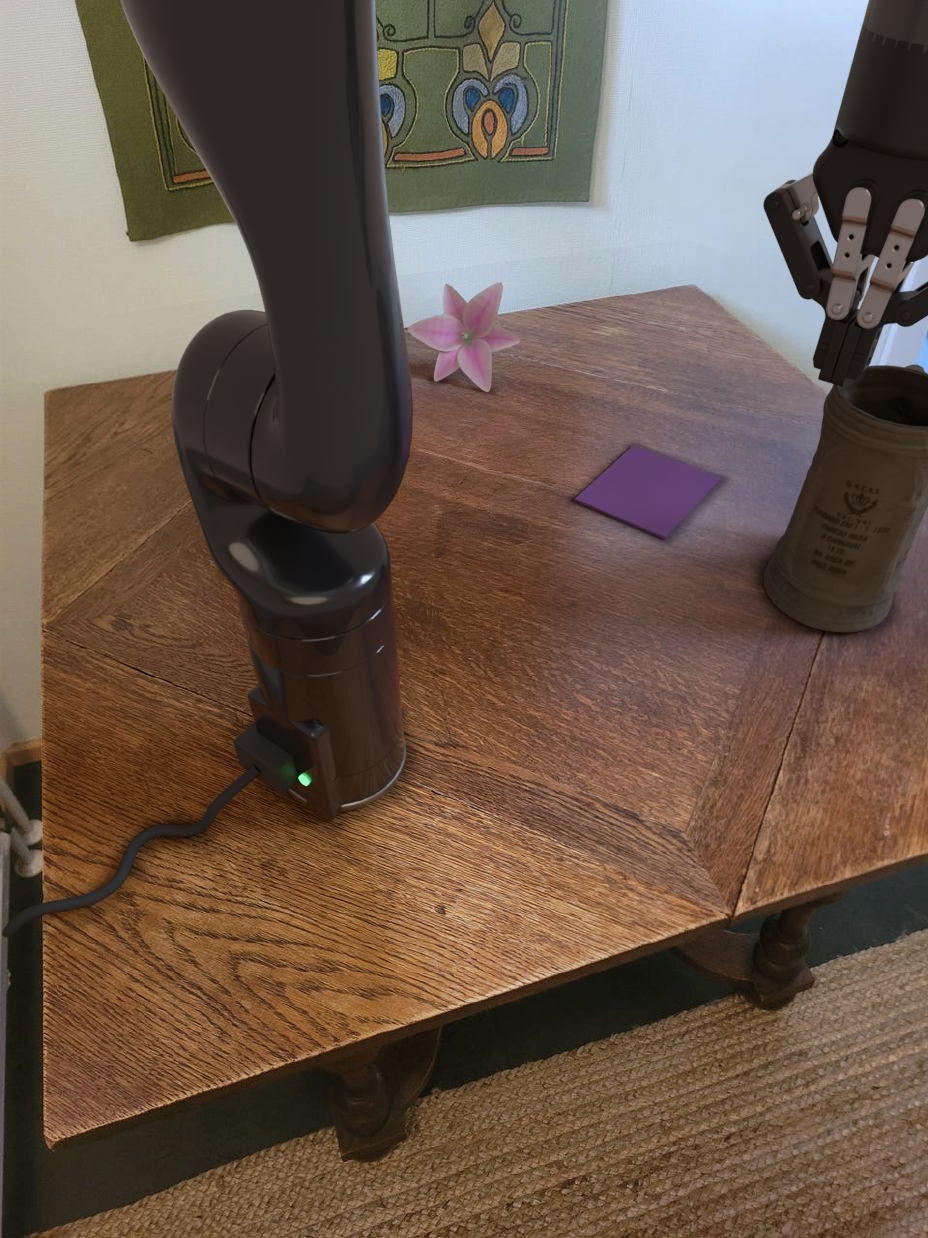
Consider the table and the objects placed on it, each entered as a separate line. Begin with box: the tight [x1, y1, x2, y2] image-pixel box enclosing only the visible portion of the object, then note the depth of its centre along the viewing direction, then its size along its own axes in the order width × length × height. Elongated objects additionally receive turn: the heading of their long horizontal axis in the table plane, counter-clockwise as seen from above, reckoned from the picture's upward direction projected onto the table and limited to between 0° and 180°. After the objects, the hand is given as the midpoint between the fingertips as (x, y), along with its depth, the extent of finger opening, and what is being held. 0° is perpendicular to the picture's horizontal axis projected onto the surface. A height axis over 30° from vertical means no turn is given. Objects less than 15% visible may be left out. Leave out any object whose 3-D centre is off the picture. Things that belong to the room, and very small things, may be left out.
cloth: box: [574, 444, 721, 540], centre depth 88 cm, size 12×10×1 cm
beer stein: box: [762, 364, 928, 633], centre depth 72 cm, size 15×11×20 cm
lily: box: [407, 282, 521, 393], centre depth 103 cm, size 12×12×10 cm
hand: (836, 378), depth 51 cm, fingers closed
